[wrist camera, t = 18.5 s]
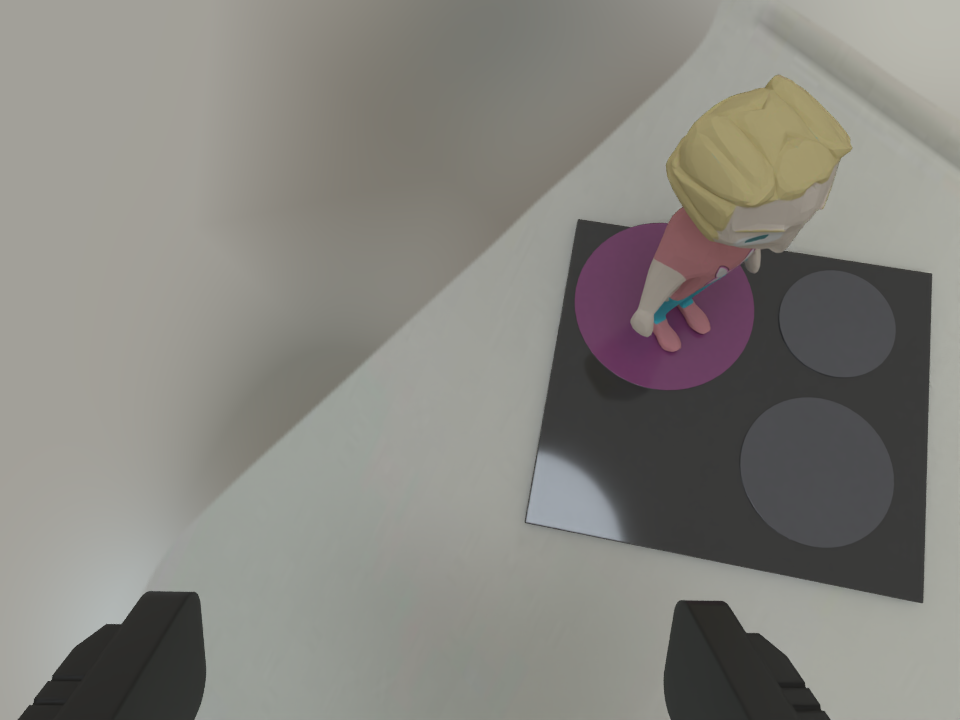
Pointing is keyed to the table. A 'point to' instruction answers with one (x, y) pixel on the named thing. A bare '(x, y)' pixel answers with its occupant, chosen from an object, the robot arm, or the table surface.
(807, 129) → the toy
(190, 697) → the robot arm
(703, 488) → the hob
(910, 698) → the table surface
